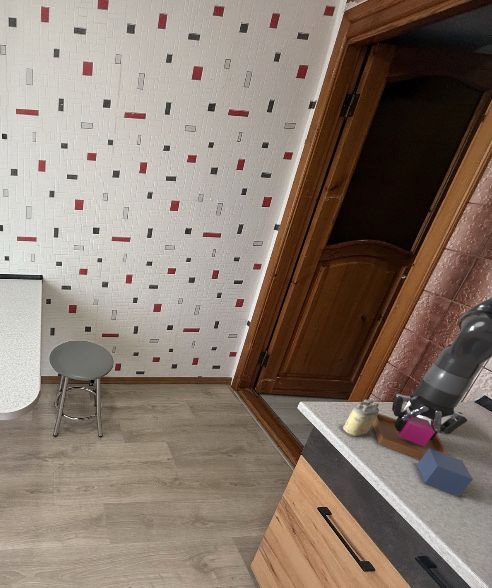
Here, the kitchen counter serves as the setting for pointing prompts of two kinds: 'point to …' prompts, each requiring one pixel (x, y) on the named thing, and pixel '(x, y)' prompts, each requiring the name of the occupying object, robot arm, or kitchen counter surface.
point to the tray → (392, 439)
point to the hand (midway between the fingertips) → (411, 433)
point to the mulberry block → (417, 431)
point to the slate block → (444, 472)
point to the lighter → (361, 418)
